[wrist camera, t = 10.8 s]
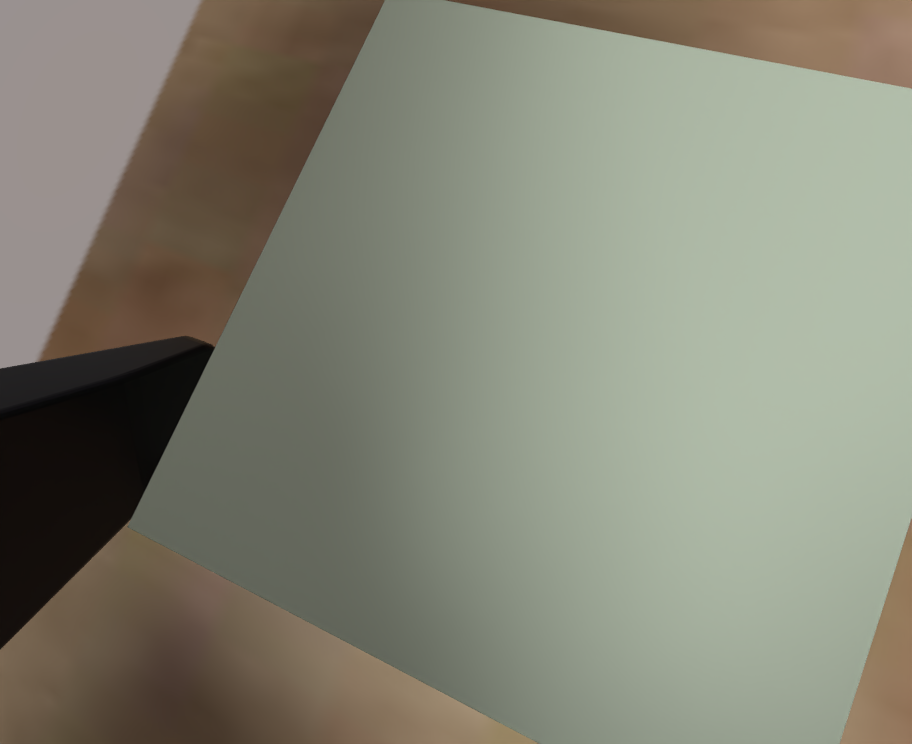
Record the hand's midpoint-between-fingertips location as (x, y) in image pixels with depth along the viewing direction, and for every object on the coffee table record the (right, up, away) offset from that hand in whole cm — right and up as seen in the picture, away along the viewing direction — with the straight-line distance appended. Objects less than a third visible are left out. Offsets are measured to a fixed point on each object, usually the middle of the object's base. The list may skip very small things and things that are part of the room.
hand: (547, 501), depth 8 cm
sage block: (+3, -2, +9) cm, 10 cm away
